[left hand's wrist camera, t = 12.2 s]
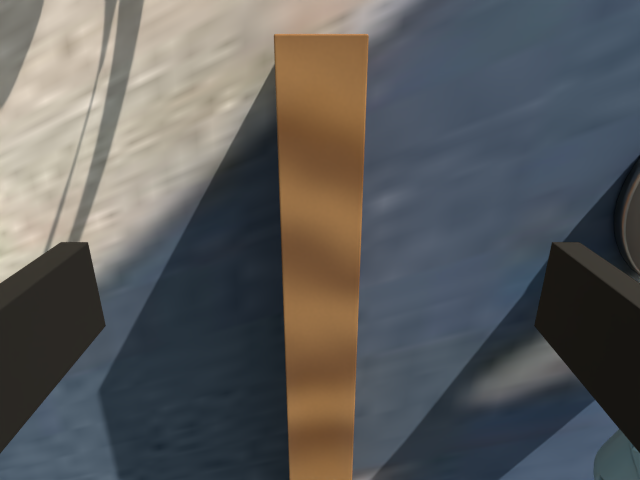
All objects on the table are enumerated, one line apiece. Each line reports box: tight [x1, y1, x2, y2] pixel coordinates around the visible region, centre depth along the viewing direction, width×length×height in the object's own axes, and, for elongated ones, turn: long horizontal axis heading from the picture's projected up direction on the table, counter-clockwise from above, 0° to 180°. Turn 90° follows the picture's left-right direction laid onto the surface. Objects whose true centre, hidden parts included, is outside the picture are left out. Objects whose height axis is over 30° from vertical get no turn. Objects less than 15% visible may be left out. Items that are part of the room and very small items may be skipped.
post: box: [274, 34, 368, 480], centre depth 40 cm, size 73×5×8 cm, turn 0°
